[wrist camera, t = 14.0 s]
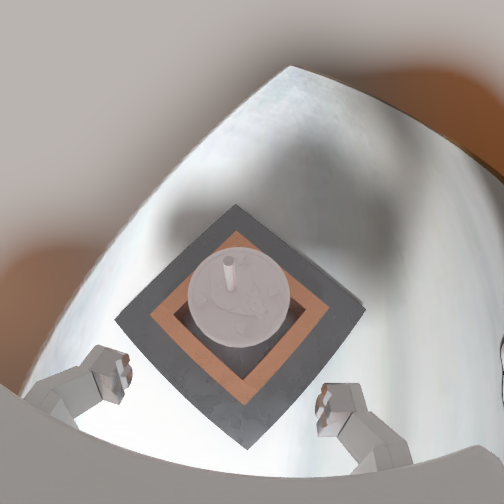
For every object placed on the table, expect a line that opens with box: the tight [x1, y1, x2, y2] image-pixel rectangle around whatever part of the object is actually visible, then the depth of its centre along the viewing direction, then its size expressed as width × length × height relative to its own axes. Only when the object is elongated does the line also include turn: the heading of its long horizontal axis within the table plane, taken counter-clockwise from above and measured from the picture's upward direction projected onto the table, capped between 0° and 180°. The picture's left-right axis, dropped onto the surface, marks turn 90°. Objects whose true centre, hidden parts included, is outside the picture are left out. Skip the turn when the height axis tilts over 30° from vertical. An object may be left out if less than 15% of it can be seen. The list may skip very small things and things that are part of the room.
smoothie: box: [188, 247, 290, 348], centre depth 19 cm, size 6×6×14 cm
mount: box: [115, 204, 366, 450], centre depth 25 cm, size 18×18×4 cm
